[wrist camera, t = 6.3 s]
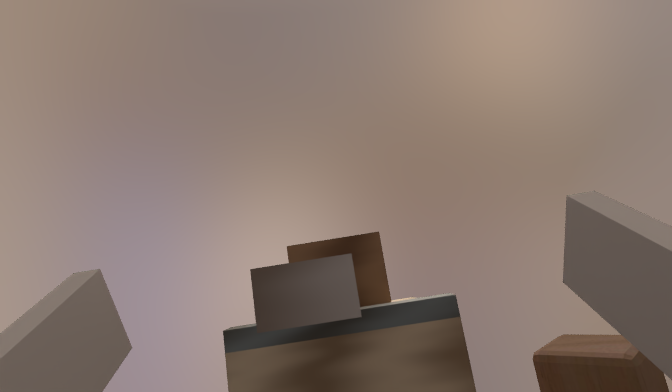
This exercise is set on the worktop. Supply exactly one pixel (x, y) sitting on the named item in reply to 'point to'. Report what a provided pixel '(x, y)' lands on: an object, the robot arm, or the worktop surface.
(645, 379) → the wooden block
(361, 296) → the walnut pull block
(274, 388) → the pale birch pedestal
